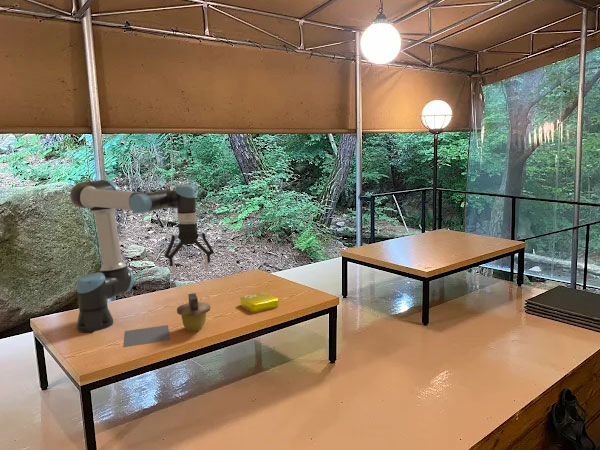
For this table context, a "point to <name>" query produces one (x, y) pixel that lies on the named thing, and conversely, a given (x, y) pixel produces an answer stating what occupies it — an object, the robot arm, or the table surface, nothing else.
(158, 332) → the mat
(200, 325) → the flower pot
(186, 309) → the lid
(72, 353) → the table surface
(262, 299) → the element tile
